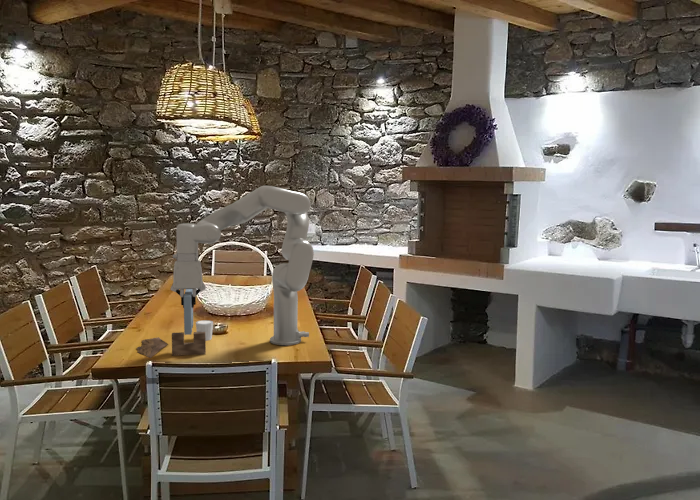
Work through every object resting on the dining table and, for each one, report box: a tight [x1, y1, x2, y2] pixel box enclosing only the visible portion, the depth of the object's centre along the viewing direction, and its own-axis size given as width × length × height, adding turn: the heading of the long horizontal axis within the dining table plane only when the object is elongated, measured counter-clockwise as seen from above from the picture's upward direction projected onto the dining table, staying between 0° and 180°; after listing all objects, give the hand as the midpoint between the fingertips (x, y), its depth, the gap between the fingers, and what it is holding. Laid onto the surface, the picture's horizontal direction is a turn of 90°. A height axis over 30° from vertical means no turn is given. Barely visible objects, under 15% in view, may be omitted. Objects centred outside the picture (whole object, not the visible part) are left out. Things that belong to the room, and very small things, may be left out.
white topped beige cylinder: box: [195, 319, 214, 341], centre depth 248 cm, size 7×7×7 cm
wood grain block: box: [171, 331, 207, 356], centre depth 228 cm, size 12×2×8 cm, turn 101°
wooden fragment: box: [136, 337, 169, 358], centre depth 236 cm, size 26×11×1 cm, turn 9°
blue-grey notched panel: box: [183, 289, 194, 336], centre depth 226 cm, size 14×2×14 cm, turn 11°
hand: (188, 306), depth 226 cm, fingers closed on blue-grey notched panel, 2 cm apart
